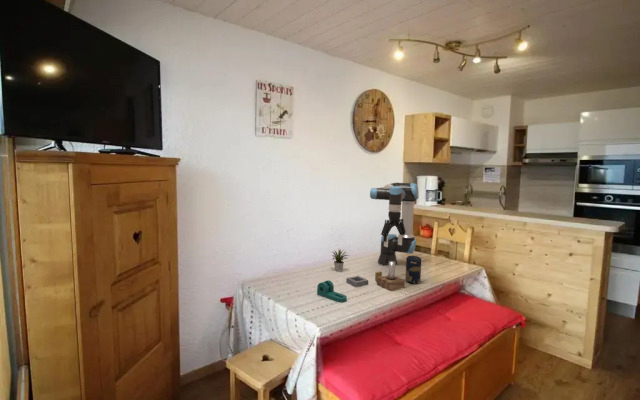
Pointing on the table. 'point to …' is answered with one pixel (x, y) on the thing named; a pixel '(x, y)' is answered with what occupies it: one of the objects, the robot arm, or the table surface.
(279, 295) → the table surface
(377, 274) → the yellow t-shaped block
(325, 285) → the bracket
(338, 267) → the house plant
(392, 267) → the grey rounded rod
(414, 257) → the canister
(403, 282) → the socket block
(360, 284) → the grey square frame
